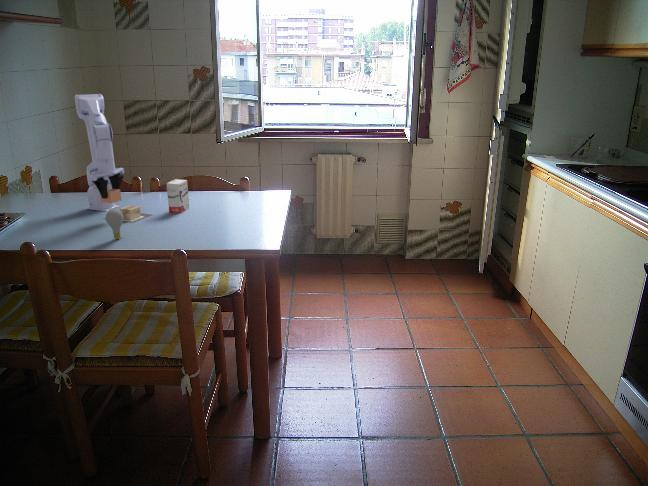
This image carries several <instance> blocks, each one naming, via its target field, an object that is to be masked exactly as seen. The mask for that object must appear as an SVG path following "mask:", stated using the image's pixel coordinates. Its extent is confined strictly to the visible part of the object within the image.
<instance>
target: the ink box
mask: <svg viewBox="0 0 648 486" xmlns="http://www.w3.org/2000/svg"><path fill="white" fill-rule="evenodd" d="M166 192H167V194H166V195H167V201H168V202H167V203H168V213H169V214H182V213H184V212H185V211H187V210H188V209H190V199H189V198H190V197H189V188H188V180H187V179H179V178H175V179H173V180H171V181H169V182H167V183H166Z"/></svg>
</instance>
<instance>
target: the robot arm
mask: <svg viewBox="0 0 648 486" xmlns="http://www.w3.org/2000/svg"><path fill="white" fill-rule="evenodd" d="M74 102H75V103H74V104H75V108H76V114H77V116H78V118H79V119H81V120H83V122H84V123H85V124H84V125H85V126H86V127H85V128H86V134H87V139H88V142H89V143H88V144H89V149H90V155H91V162H90V163H89V164H88V165H87V166H86V168H85V169H86V170H85V171H86V178H87V180H86V181H87V184H88V186H89V187H88V189H87V192H86V194H87V195H86V196H87V202H88V208H87V210H93V211H102V212H107V211H108V212H109V211H111V210H115V209H117V208H120V207H121V206H120V204H119V205H118V204H115V203H116V202H114V203H105V202H101V201H100V194H101V197H102V198H104V199H107V198H108V193H107V189H109V188H110V189H119V190H120V191H121V185H122V181H123V179H124V175H123V174H125V168H124V167H117V168H116V164H115V157H114V149H113V138H114V134H113V128H112V125H111V124H110V123H108V120H107V119H106V116H105V107H106V106H105V99H104V96H103V95H102V94H101V93H96V94H95V93H94V94H91V93H90V94H75V95H74ZM99 192H100V193H99Z"/></svg>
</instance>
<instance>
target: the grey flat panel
mask: <svg viewBox="0 0 648 486" xmlns="http://www.w3.org/2000/svg"><path fill="white" fill-rule="evenodd" d="M140 214H141V217H140V218H137V219H134V220H123V223H128V224H133V223H136V222H139V221H141V220H144V219H147V218H149V217H152V216H153V214H149V213H144V212H143V213H142V212H140ZM103 220H105V221H106V217H105V218H103Z"/></svg>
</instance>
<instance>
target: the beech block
mask: <svg viewBox="0 0 648 486" xmlns="http://www.w3.org/2000/svg"><path fill="white" fill-rule="evenodd" d="M140 207H141V206H137V205H136V206H135V205H126V206H124V207H121V208H120V207H119V211H120V212H121V213H122V214H123V217H124V220H134V219H137V218H140V217H141V214H140V213H141V208H140Z"/></svg>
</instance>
